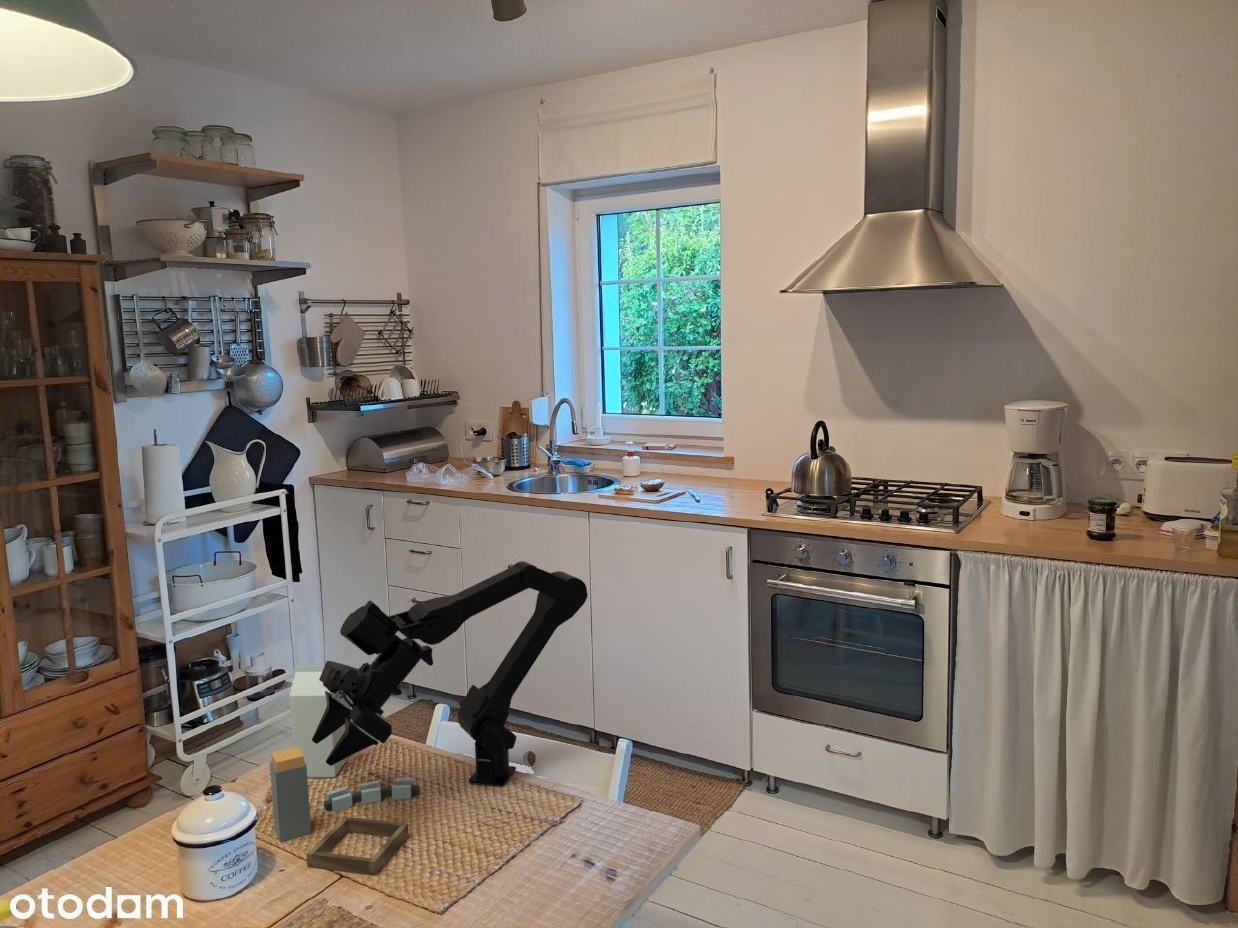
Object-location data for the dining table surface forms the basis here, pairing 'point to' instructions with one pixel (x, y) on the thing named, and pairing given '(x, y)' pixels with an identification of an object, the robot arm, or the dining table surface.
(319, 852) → the brown flat square frame
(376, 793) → the grey jointed bar
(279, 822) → the grey box with lid
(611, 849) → the dining table surface
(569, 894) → the dining table surface
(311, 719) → the milk carton
